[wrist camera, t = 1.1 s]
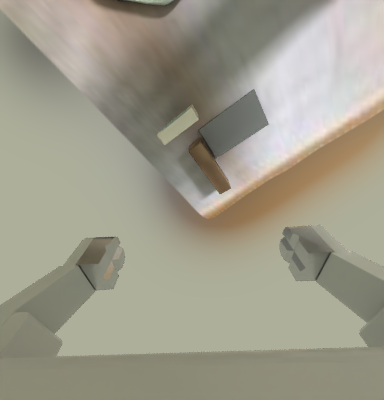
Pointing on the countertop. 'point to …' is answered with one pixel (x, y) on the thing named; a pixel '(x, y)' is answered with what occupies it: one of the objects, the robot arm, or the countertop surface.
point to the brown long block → (209, 166)
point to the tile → (178, 125)
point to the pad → (234, 124)
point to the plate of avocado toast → (152, 1)
